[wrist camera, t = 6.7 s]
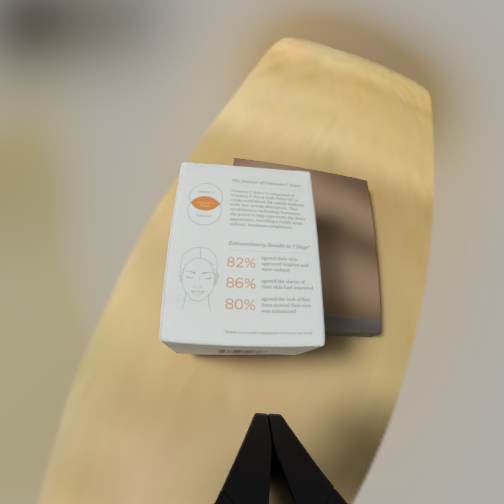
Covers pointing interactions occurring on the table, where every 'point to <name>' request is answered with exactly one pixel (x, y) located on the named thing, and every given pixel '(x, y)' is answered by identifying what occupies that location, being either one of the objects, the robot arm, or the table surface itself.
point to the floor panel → (343, 251)
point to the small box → (242, 263)
